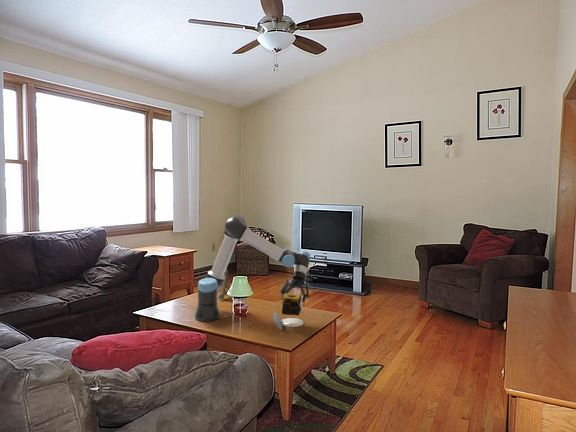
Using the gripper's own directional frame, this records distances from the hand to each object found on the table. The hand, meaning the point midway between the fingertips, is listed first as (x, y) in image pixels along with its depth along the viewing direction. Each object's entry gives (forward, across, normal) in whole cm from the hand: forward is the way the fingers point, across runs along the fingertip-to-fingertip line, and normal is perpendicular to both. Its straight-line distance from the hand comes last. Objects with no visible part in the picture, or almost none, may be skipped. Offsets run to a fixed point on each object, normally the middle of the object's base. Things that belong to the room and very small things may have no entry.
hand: (291, 305), depth 237 cm
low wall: (+11, +7, -5) cm, 14 cm away
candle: (+3, 0, -3) cm, 4 cm away
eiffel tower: (-14, +60, -31) cm, 69 cm away
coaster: (+6, 0, -10) cm, 12 cm away
